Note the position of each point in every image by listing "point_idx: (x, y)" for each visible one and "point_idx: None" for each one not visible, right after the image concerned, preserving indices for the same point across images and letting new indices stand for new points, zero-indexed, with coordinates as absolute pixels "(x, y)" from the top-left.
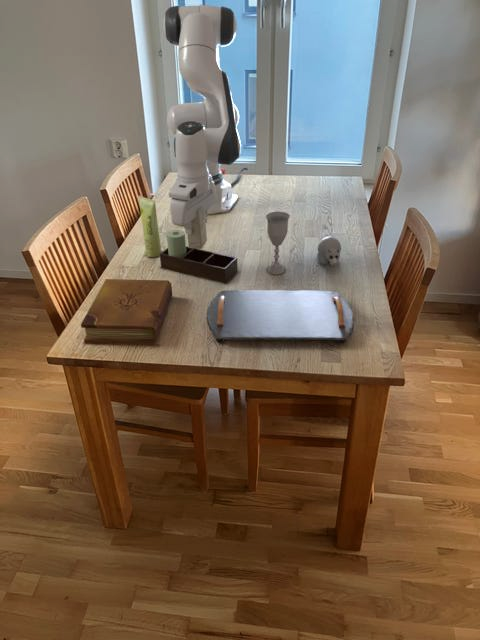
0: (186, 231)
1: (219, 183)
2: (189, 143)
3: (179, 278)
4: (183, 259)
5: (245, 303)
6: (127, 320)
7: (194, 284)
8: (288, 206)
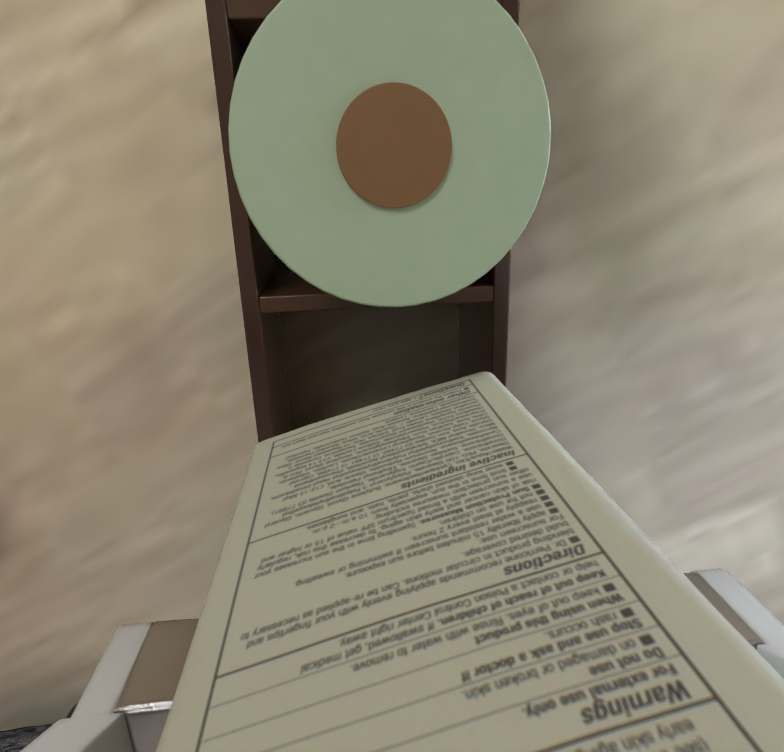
0: (103, 676)
1: None
2: None
3: (183, 309)
4: (246, 336)
5: None
6: None
7: (176, 453)
8: None
